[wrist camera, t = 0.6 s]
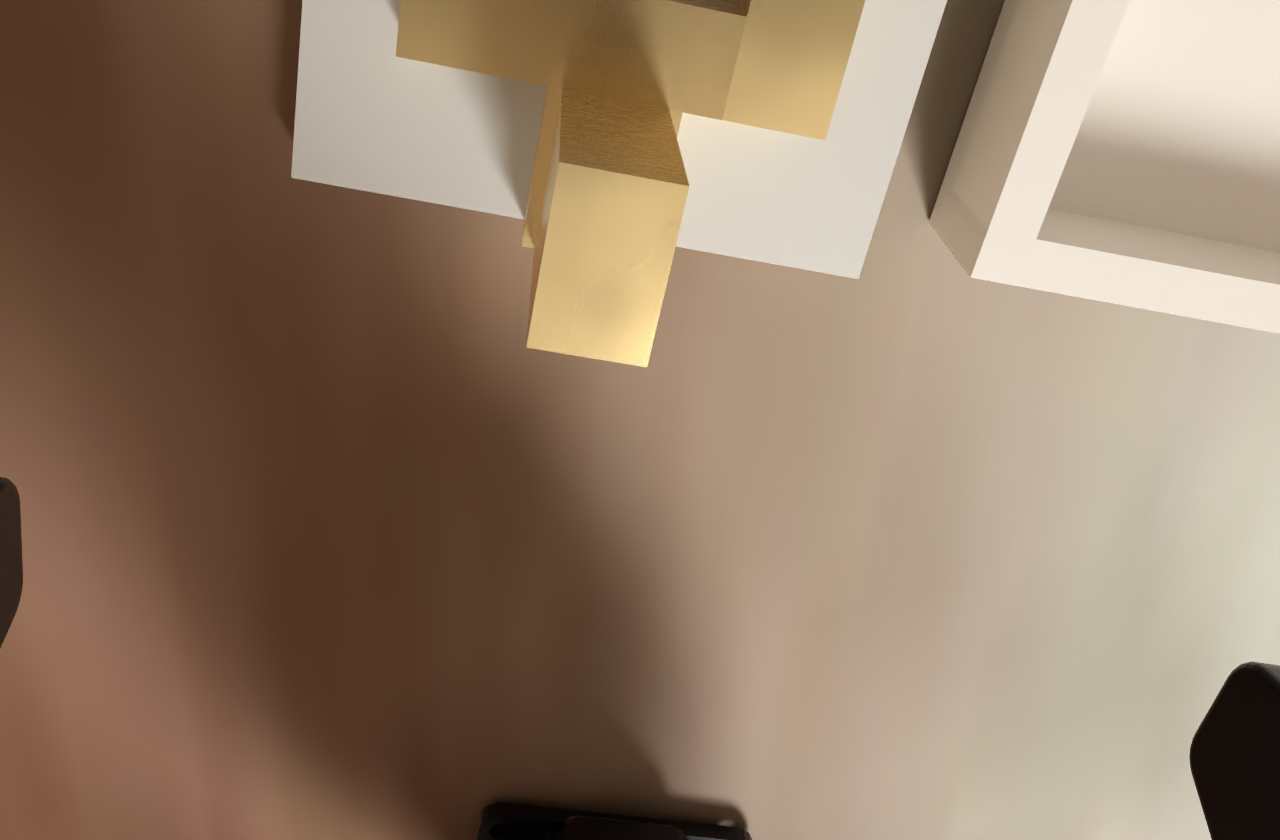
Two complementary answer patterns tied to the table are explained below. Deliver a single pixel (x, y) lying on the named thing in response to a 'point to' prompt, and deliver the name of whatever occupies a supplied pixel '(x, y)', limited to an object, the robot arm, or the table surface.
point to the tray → (1126, 157)
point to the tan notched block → (630, 129)
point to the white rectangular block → (710, 148)
